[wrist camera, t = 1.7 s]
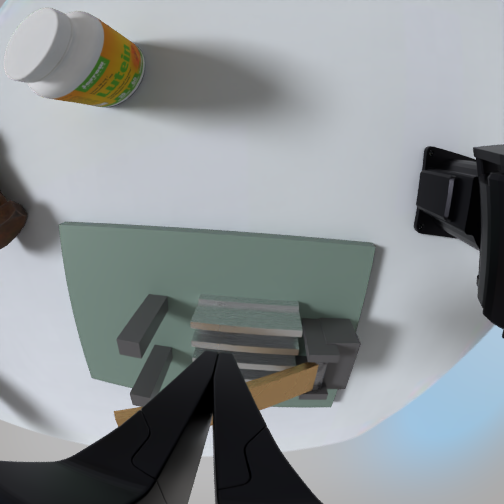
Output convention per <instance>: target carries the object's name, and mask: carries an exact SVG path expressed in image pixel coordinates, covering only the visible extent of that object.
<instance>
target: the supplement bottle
mask: <svg viewBox="0 0 504 504" xmlns="http://www.w3.org/2000/svg"><path fill="white" fill-rule="evenodd" d="M144 69H145V61H144V56H143V54H142V52H141V50H140V49H139V48H138V47H137V46H136V45H135V44H134V43H132V42H131V41H129V40H128V39H127V38H125V37H124V36H122V35H121V34H119V33H118V32H117V31H115V30H114V29H112V28H111V27H109V26H108V25H106V24H105V23H104V22H102V21H101V20H99V19H98V18H96V17H94V16H93V15H91V14H89V13H86V12H81V11H75V12H70V13H66V14H65V13H62V12H60V11H57V10H55V9H53V8H42V9H39V10H37V11H35V12H33V13H32V14H30V15H29V16H28V17H26V18H25V19H24V20H23V21H22V22H21V24H20V25H19V26H18V27H17V29H16V30H15V31H14V33H13V35H12V36H11V38H10V40H9V43H8V45H7V48H6V51H5V55H4V70H5V73H6V75H7V76H8V77H9V78H10V79H12V80H15V81H21V82H25V83H28V85H29V87H30V88H31V90H32V91H33V92H34V93H36V94H37V95H39V96H41V97H45V98H49V99H56V100H62V101H68V102H76V103H81V104H87V105H92V106H97V107H111V106H114V105H117V104H119V103H121V102H123V101H125V100H126V99H127V98H129V97H130V96H131V95H132V94H133V93H134V91H135V90H136V89H137V87H138V86H139V84H140V82H141V80H142V78H143V74H144Z"/></svg>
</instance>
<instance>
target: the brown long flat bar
mask: <svg viewBox="0 0 504 504" xmlns="http://www.w3.org/2000/svg"><path fill="white" fill-rule="evenodd" d="M327 364H328V363H324V362H305V363H302V364H300V365H297V366H294V367H291V368H288V369H285V370H282V371H279V372H276V373H273V374H270V375H267V376H264V377H261V378H258V379H255V380H251V381H248V382H246V384H247V386H248V388H249V390H250V392H251V394H252V397H253V399H254V401H255V403H256V405H257V407H258V409H259V410H262V409H265V408H267V407H270V406H273V405H276V404H278V403H281V402H284V401H286V400H289V399H291V398H294V397H296V396H299V395H301V394H304V393H306V392H308V391H310V392H318V391H319V390H320V388H321V385H322V382H323V378H324V375H325V371H326V368H327ZM141 408H142V407H138V408H132V409H126V410H119V411H114V415H115V420H116V422H117V425H118V427H119V426H120V425H122V424H123V423H124V422H125V421H127V420H128V419H129V418H130V417H132V416H133V415H134V414H135V413H136V412H137V411H139V410H141ZM211 425H213V415H212V420H211V424H210V426H211Z"/></svg>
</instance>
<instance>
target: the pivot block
mask: <svg viewBox="0 0 504 504" xmlns="http://www.w3.org/2000/svg"><path fill="white" fill-rule="evenodd" d="M301 324H302V330H303V332H302V333H303V338H304V344H305V349H306V355H307V356H296V355H295V364H296V366H297V365H300V364H302V363H305V362H324V363H328V364H327V368H326V371H325V375H324V378H323V382H322V385H321V388H320V390H319V391H318V392H310V391H308V392H306V393H304V394H301V395H299V396H298V398H299V400H326V399H327V396H328V391H327V389H345V388H346V385H347V382H348V380H349V377H350V374H351V371H352V368H353V365H354V362H355V359H356V356H357V353H358V350H359V347H360V341H359V339H358V336H357V334H356V332H355V330H354V327H353V325H352V323H351V321H350V319H341V318H319V319H311V318H302V322H301Z"/></svg>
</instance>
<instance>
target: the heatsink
mask: <svg viewBox="0 0 504 504" xmlns="http://www.w3.org/2000/svg"><path fill="white" fill-rule="evenodd" d="M198 301H199V302H198V304H197V307H196V309H195V312H194V314H193V317H192V319H191V321H190V324H191V328H193V329H195V332H194V335H193V337H192V340H191V345H192V347H196V348H195V351H194V354H193V357H192V361H194V360H195V359H196V358H198V357H199V356H200V355H201V354H202V353H203V352H204V351H206V350H209V351H217V352H218V353H220V352H226V353H232V354H233V356H234V358H235V360H236V362H237V364H238V367H239V369H240V371H241V373H242V375H243V377H244V380H245V382H248V381H251V380H255V379H258V378H261V377H264V376H267V375H270V374H273V373H276V372H279V371H282V370H285V369H288V368H291V367H294V366H296V364H295V356H294V355H298V353H299V345H298V338H297V337H302V332H303V330H302V324H301V319H300V314H299V303H298V301H286V300H271V299H257V298H245V297H232V296H221V295H210V294H200V296H199V299H198Z"/></svg>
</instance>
